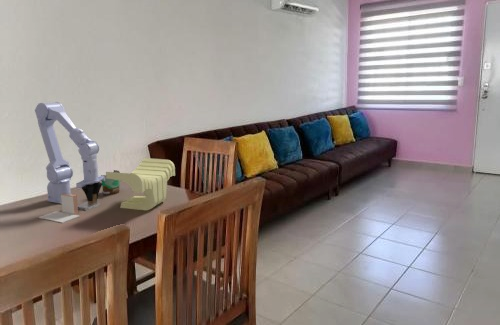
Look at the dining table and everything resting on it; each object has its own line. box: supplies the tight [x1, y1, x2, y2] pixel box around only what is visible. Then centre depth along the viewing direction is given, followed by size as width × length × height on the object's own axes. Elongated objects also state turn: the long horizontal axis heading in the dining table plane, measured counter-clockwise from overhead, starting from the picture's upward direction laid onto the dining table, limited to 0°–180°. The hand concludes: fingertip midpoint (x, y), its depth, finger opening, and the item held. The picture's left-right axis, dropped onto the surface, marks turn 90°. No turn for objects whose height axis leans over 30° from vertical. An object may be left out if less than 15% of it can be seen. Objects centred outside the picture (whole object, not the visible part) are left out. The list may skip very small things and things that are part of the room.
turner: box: [77, 193, 101, 211], centre depth 170 cm, size 8×6×5 cm
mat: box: [38, 210, 80, 224], centre depth 157 cm, size 13×8×1 cm, turn 66°
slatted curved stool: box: [105, 157, 176, 211], centre depth 172 cm, size 30×16×18 cm, turn 165°
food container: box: [100, 169, 121, 196], centre depth 191 cm, size 12×6×10 cm, turn 168°
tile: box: [61, 193, 79, 215], centre depth 161 cm, size 7×2×8 cm, turn 66°
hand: (92, 200), depth 173 cm, fingers closed on turner, 2 cm apart
